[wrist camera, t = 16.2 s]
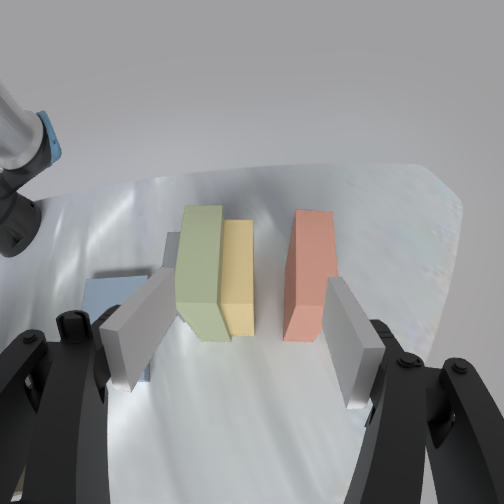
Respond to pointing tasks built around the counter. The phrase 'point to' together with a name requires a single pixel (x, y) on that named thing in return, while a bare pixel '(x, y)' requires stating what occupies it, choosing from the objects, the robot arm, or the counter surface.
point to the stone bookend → (172, 254)
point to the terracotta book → (308, 274)
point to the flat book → (111, 299)
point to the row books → (215, 274)
